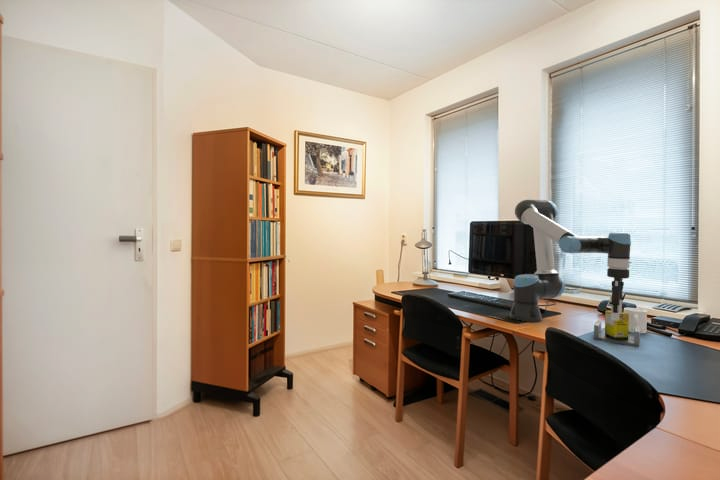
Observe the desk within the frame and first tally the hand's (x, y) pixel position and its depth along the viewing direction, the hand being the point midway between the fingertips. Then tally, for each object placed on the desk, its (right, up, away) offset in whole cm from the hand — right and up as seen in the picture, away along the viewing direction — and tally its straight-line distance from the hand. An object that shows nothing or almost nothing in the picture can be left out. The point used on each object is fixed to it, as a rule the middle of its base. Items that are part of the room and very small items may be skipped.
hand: (616, 317), depth 144 cm
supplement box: (0, -9, 0) cm, 9 cm away
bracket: (0, -10, 0) cm, 10 cm away
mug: (+17, -10, +10) cm, 22 cm away
